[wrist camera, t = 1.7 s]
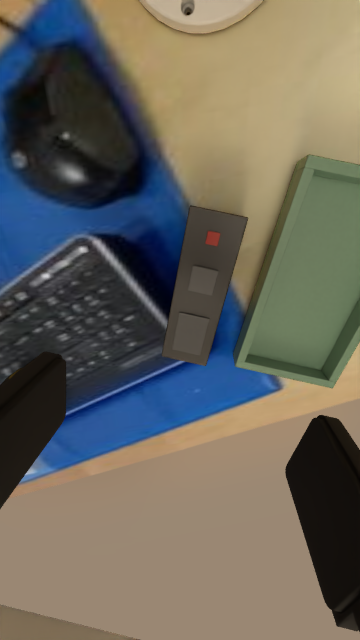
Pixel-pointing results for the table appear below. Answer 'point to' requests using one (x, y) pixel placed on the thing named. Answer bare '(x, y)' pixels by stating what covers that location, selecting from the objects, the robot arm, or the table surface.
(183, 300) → the remote
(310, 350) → the tray
